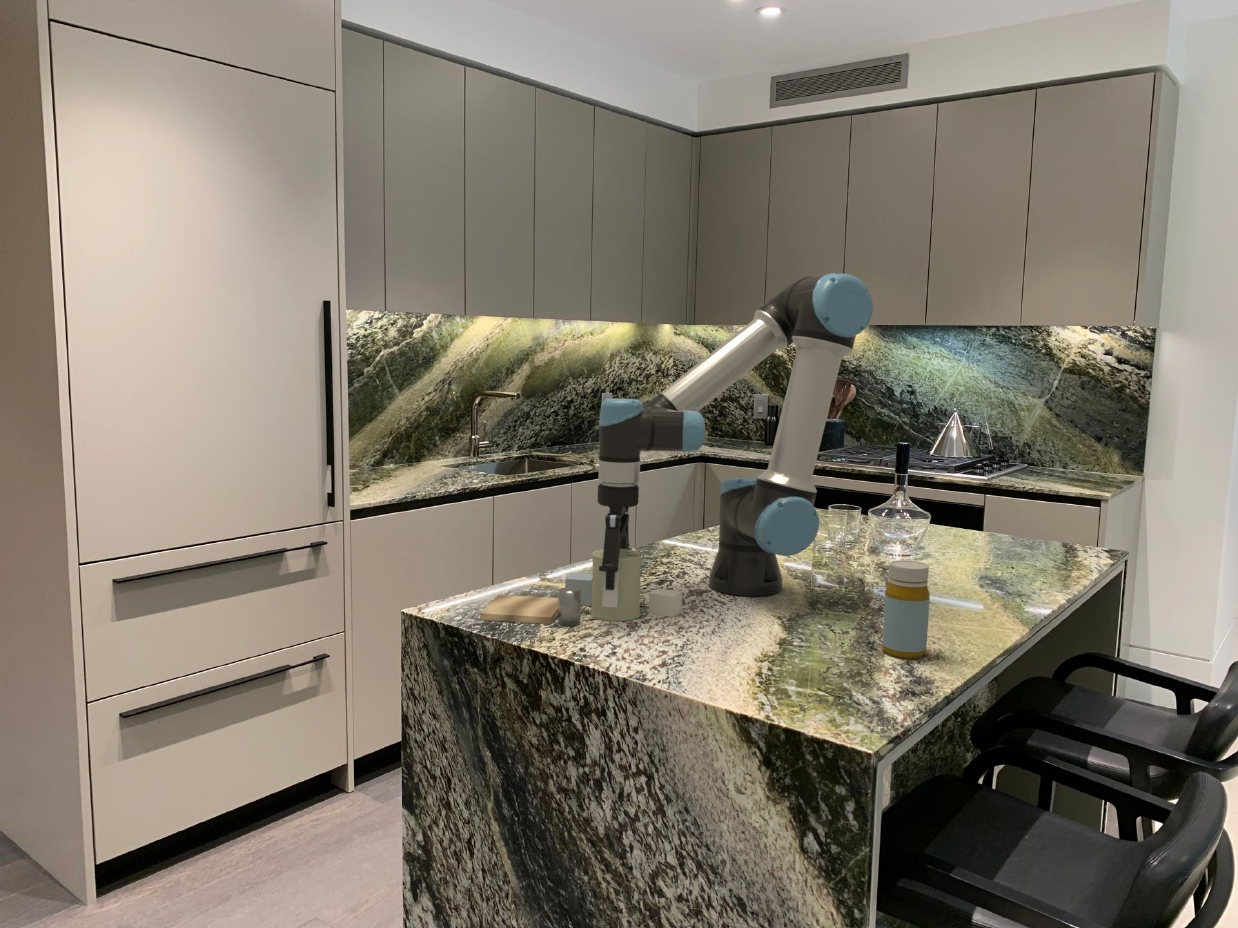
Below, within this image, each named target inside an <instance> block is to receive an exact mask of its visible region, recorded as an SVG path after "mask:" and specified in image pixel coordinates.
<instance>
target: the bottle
mask: <svg viewBox="0 0 1238 928" xmlns="http://www.w3.org/2000/svg"><path fill="white" fill-rule="evenodd" d="M929 569H930V568H929V564H926V563H925V562H920V561H915V560H906V559H905V560H904V559H903V560H901V559H900V560H892V561H890V562H889V568H888V571H889V572H888V583H887V586H886V588H885V593H884V608H883V611H884V612H883V626H882V645H881V646H882V650H883V651H884V652H885V653H886V654H887V655H889V656H891V657H894V658H900V659H907V660H911V659H912V660H913V659H919V658H921V657H923V656H924V655H925V654H926V652H927V647H928V645H927V644H928V629H929V628H928V627H929V626H928V625H929V616H930V615H929V614H930V613H929V611H930V591H929V588H928V579H929V572H930V571H929Z"/></svg>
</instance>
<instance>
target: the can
mask: <svg viewBox="0 0 1238 928" xmlns="http://www.w3.org/2000/svg"><path fill="white" fill-rule="evenodd" d="M603 551H604V548H602V549H601V548H600V549H597V550H594V551H593V552H592V553H591V554H592V555H591V556H592V574H593V577H592V604H591V610H590V614H591V616H592V617H593V618H595V619H597V620H601V621H606V622H607V621H608V622H627V621H633V620H637V619H638V618H640V617H641V608H640V606H641V602H640V601H641V572H642V571H641V568H642V567H641V566H642V565H641V564H642V552H639V551H638V550H634V549H632V550H630V549H620V553H619V562H618V571H619V582H618V607H617V608H616V607H602V595H603V571H599V566H602V562H603ZM608 564H613V563H608Z"/></svg>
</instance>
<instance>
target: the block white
mask: <svg viewBox="0 0 1238 928" xmlns="http://www.w3.org/2000/svg"><path fill="white" fill-rule="evenodd" d="M682 609H683V591H679V590H672V589H665V588H659V587H658V588H656V589H654V590H652V591H650V592H649V593H648V614H652V615H656V616H657V615H658V616H664V617H670V618H674V617H676V616H677V615H679V614H681V613H682V612H683V610H682Z"/></svg>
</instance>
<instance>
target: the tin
mask: <svg viewBox="0 0 1238 928" xmlns="http://www.w3.org/2000/svg"><path fill="white" fill-rule="evenodd" d="M557 598H558V615H557V624H558V625H560V626H563V627H565V626H566V627H575V626H579V625H580V624H581V606H582V605H581V590H580V589H578V588H573V587H566V588H565V587H560V588H558V595H557Z"/></svg>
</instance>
